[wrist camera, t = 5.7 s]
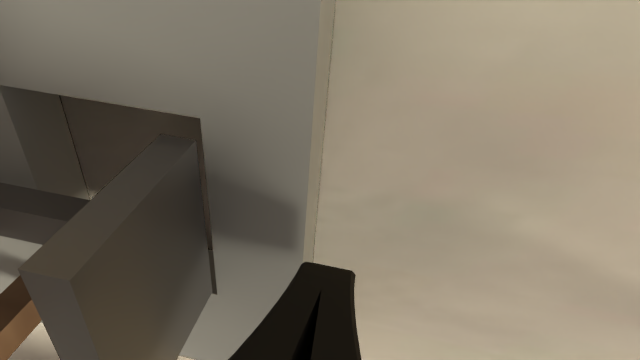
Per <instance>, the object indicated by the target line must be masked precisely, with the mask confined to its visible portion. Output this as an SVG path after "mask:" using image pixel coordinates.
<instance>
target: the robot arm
mask: <svg viewBox="0 0 640 360" xmlns="http://www.w3.org/2000/svg"><path fill="white" fill-rule="evenodd" d="M354 283H355V274H354V273H353V272H352V271H350V270H345V269H340V268H336V267H331V266H326V265H321V264H316V263H311V262H304V263H302V264H301V266H300V267H299V269H298V271H297V273H296V274H295V276H294V278H293V279H292V281H291V282H290V284H289V285H288V287H287V288H286V290H285V291H284V293H283V294H282V295H281V297H280V298H279V300H278V301H277V302H276V304H275V305H274V306H273V308H272V309H271V310H270V311H269V313H268V314H267V315H266V317H265V318H264V319H263V320H262V322H261V323H260V324H259V325H258V327H257V328H256V329H255V330H254V331H253V332H252V333H251V335H250V336H249V337H248V338H247V339H246V340H245V341H244V343H243V344H242V345H241V346H240V347H239V348H238V349H237V351H236V352H235V353H234V354H233V355H232V356H231V357H230V358H229V359H228V360H361V355H360V348H359V342H358V335H357V328H356V319H355V306H354Z"/></svg>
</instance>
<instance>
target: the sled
mask: <svg viewBox="0 0 640 360" xmlns="http://www.w3.org/2000/svg"><path fill="white" fill-rule="evenodd" d="M0 236H3V237H8V238H13V239H17V240H22V241H27V242H31V243H36V244H41V245H43V246H42V247H41V248H39V249H38V250H37V251H36V252H35V253H34V254H33V255H32V256H31V257H30V258H29V259H28V260H27V261H26V262H25V263H24V264H22V265H21V266H20V267H19V268H18V271H19V273H20V276H21V278H22V280H23V282H24V284H25V286H26V288H27V290H28V292H29V295H30V297H31V299H32V301H33V303H34V305H35V307H36V309H37V311H38V313H39V316H40V318H41V320H42V322H43V324H44V326H45V328H46V330H47V332H48V335H49V337H50V339H51V341H52V343H53V345H54V347H55V349H56V351H57V354H58V356H59V358H60V360H177V358H178V356H179V354H180V352H181V350H182V348H183V346H184V345H185V343H186V341H187V339H188V337H189V335H190V333H191V331H192V329H193V328H194V326H195V324H196V322H197V320H198V318H199V316H200V314H201V312H202V310H203V309H204V307H205V305H206V303H207V301H208V299H209V297H210V295H211V293H212V283H211V274H210V265H209V255H208V246H207V237H206V227H205V218H204V209H203V199H202V190H201V181H200V172H199V162H198V153H197V144H196V140H192V139H186V138H181V137H175V136H169V135H163V134H160V135H159V136H158V137H157V138H156V139H155V140H154V141H153V142H152V143H151V144H150V145H149V146H148V147H147V148H146V149H144V150H143V151H142V152H141V153H140V154H139V155H138V156H137V157H136V158H135V159H134V160H133V161H132V162H131V163H130V164H129V165H127V166H126V167H125V168H124V169H123V170H122V171H121V172H120V173H119V174H118V175H117V176H116V177H115V178H114V179H113V180H112V181H111V182H109V183H108V184H107V185H106V186H105V187H104V188H103V189H102V190H101V191H100V192H99V193H98V194H97V195H96V196H95V197H94V198H92V199H91V200H86V199H81V198H76V197H71V196H66V195H61V194H56V193H51V192H46V191H41V190H36V189H31V188H26V187H21V186H16V185H11V184H6V183H1V182H0Z"/></svg>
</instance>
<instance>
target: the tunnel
mask: <svg viewBox="0 0 640 360" xmlns="http://www.w3.org/2000/svg"><path fill="white" fill-rule="evenodd" d="M41 321H42V320H41V318H40V316H39V313H38V311H37V309H36V307H35V305H34V303H33V301H32V299H31V297H30V295H29V292H28V290H27V288H26V286H25V284H24V282H23V280H22V278H21V276H19V277H17V278H16V279H15V280H14V281H13V282H12V283H11V284H10V285H9V286H8V287H7V288H6V289H5V290H4V291H3V292H2V293H1V294H0V360H7V359H8V358H9V357H10V356H11V355H12V353H13V352H14V351H15V350H16V349H17V348H18V347H19V346H20V344H21V343H22V342H23V341H24V340H25V339H26V338H27V336H28V335H29V334H30V333H31V332H32V331H33V330H34V329H35V327H36V326H37V325H38V324H39V323H40V322H41Z"/></svg>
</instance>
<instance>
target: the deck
mask: <svg viewBox="0 0 640 360" xmlns="http://www.w3.org/2000/svg"><path fill="white" fill-rule="evenodd" d="M335 1H336V0H0V182H1V183H6V184H11V185H16V186H21V187H26V188H31V189H36V190H41V191H46V192H51V193H56V194H61V195H66V196H71V197H76V198H81V199H86V200H90V199H89V195H88V192H87V188H86V185H85V182H84V178H83V175H82V172H81V168H80V165H79V162H78V158H77V155H76V151H75V148H74V145H73V141H72V138H71V135H70V131H69V128H68V125H67V121H66V118H65V114H64V111H63V108H62V104H61V101H60V98H59V95H63V96H69V97H75V98H81V99H87V100H93V101H99V102H105V103H111V104H117V105H123V106H129V107H135V108H141V109H147V110H153V111H159V112H165V113H171V114H177V115H183V116H189V117H195V118H200V122H201V132H202V143H203V153H204V163H205V173H206V183H207V194H208V204H209V214H210V224H211V234H212V244H213V250H208V255H209V265H210V274H211V283H212V293H211V295H210V297H209V299H208V301H207V303H206V305H205V307H204V309H203V310H202V312H201V314H200V316H199V318H198V320H197V322H196V324H195V326H194V328H193V329H192V331H191V333H190V335H189V337H188V339H187V341H186V343H185V345H184V346H183V348H182V350H181V352H180V354H179V356H183V357H187V358H191V359H195V360H228V359H229V358H230V357H231V356H232V355H233V354H234V353H235V352H236V351H237V349H238V348H239V347H240V346H241V345H242V344H243V343H244V341H245V340H246V339H247V338H248V337H249V336H250V335H251V333H252V332H253V331H254V330H255V329H256V328H257V327H258V325H259V324H260V323H261V322H262V320H263V319H264V318H265V317H266V315H267V314H268V313H269V311H270V310H271V309H272V308H273V306H274V305H275V304H276V302H277V301H278V300H279V298H280V297H281V295H282V294H283V293H284V291H285V290H286V288H287V287H288V285H289V284H290V282H291V281H292V279H293V278H294V276H295V274H296V273H297V271H298V269H299V267H300V266H301V264H302V263H304V262H311V263H313V254H314V242H315V231H316V219H317V208H318V196H319V185H320V173H321V162H322V151H323V139H324V128H325V116H326V105H327V93H328V82H329V70H330V59H331V47H332V36H333V24H334V13H335ZM42 246H43V245H41V244H36V243H31V242H27V241H22V240H17V239H13V238H8V237H3V236H0V294H1V293H2V292H3V291H4V290H5V289H6V288H7V287H8V286H9V285H10V284H11V283H12V282H13V281H14V280H15V279H16V278H17V277H19V276H20V273H19V271H18V268H19V267H20V266H21V265H22V264H24V263H25V262H26V261H27V260H28V259H29V258H30V257H31V256H32V255H33V254H34V253H35V252H36V251H37V250H38V249H39V248H41V247H42ZM41 322H42V321H41ZM42 323H43V322H42Z"/></svg>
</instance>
